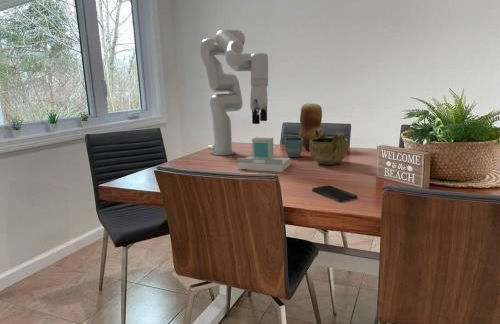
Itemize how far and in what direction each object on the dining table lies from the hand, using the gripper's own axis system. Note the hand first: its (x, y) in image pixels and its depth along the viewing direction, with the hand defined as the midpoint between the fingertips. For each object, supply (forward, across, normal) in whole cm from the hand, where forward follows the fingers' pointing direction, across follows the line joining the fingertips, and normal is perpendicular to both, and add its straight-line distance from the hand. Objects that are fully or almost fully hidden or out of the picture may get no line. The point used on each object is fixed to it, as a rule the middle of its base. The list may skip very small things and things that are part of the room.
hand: (259, 122), depth 160 cm
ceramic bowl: (+19, -10, +29) cm, 36 cm away
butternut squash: (+20, -43, +14) cm, 49 cm away
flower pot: (+20, -22, +10) cm, 31 cm away
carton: (+16, +5, +3) cm, 17 cm away
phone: (+19, +35, +39) cm, 55 cm away
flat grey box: (+19, +3, +3) cm, 20 cm away
